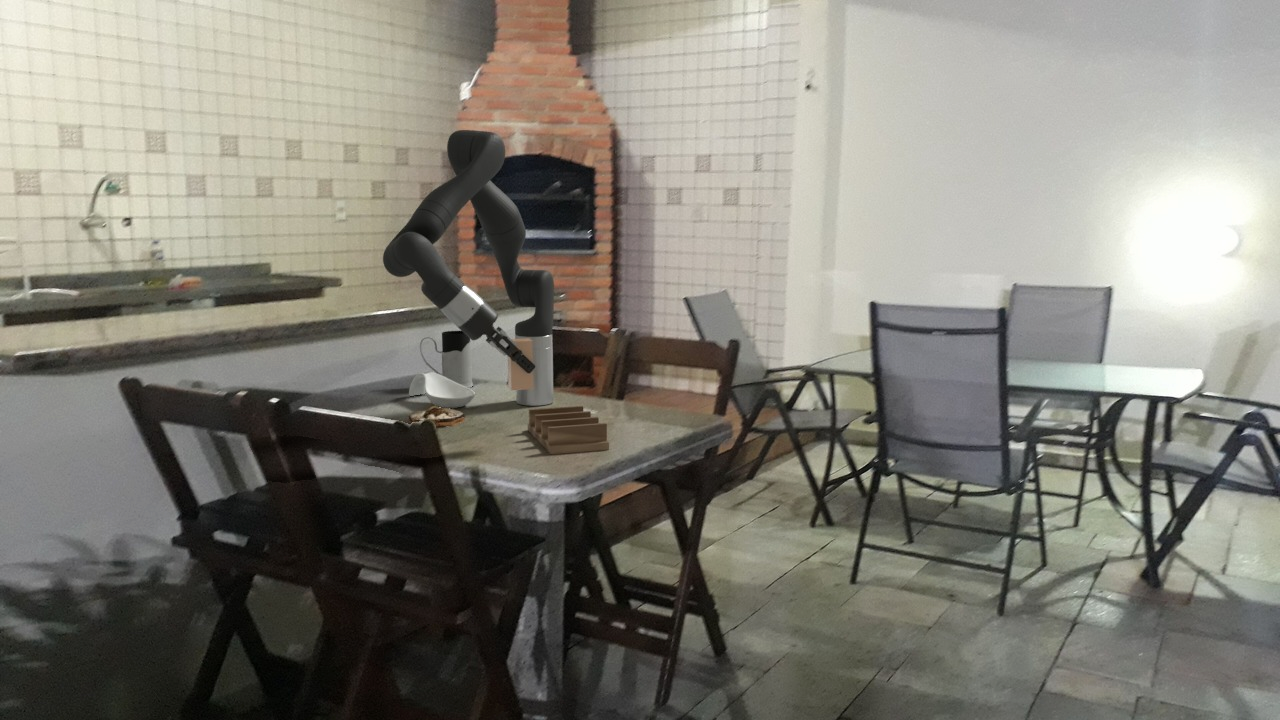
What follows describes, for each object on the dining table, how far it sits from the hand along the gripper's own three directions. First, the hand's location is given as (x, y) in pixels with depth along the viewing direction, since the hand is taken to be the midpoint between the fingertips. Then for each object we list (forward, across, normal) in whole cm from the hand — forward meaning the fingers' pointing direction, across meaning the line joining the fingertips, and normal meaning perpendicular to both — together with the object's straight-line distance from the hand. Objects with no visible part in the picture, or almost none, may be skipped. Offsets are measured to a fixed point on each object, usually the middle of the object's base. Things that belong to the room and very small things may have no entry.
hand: (529, 368), depth 193 cm
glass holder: (+5, +68, +18) cm, 71 cm away
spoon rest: (+2, +47, +22) cm, 52 cm away
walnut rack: (+16, 0, +6) cm, 17 cm away
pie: (0, +25, +24) cm, 35 cm away
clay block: (+1, 0, +4) cm, 5 cm away
